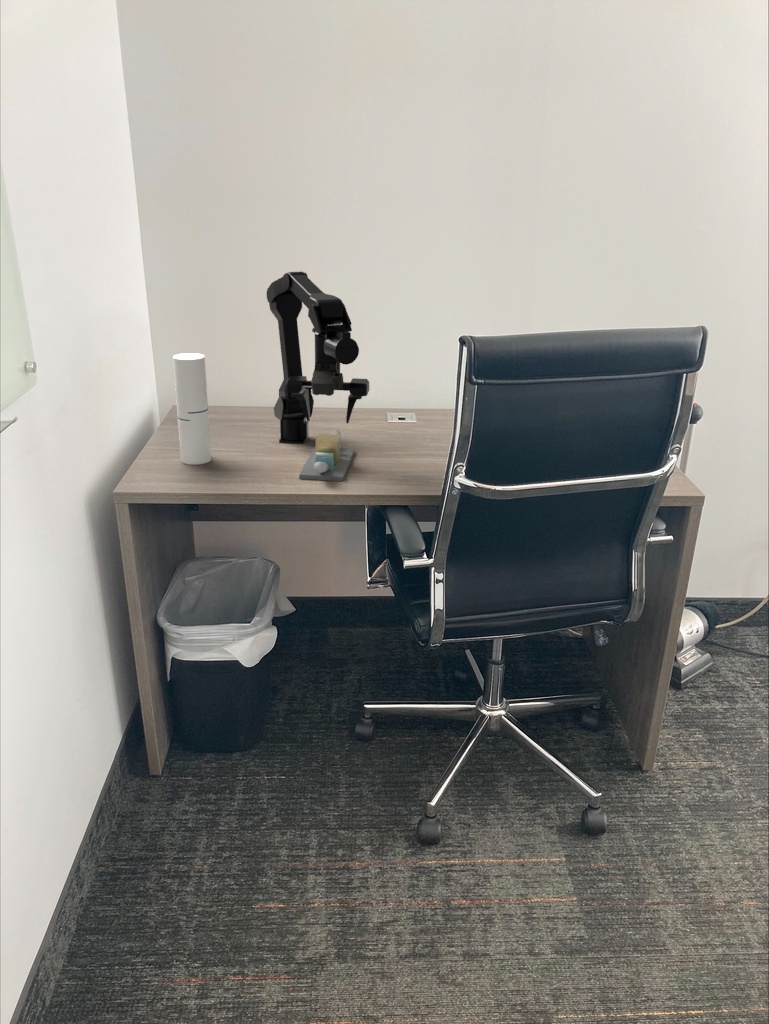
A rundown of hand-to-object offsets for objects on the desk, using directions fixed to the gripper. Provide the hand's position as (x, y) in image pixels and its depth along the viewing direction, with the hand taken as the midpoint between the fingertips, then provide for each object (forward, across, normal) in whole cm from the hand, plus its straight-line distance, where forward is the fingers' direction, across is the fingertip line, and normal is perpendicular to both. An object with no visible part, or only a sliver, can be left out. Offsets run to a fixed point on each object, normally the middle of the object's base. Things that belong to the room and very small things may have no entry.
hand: (328, 421), depth 189 cm
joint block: (+10, 0, 0) cm, 10 cm away
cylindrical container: (+11, -32, -1) cm, 34 cm away
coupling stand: (+11, 0, 0) cm, 11 cm away
